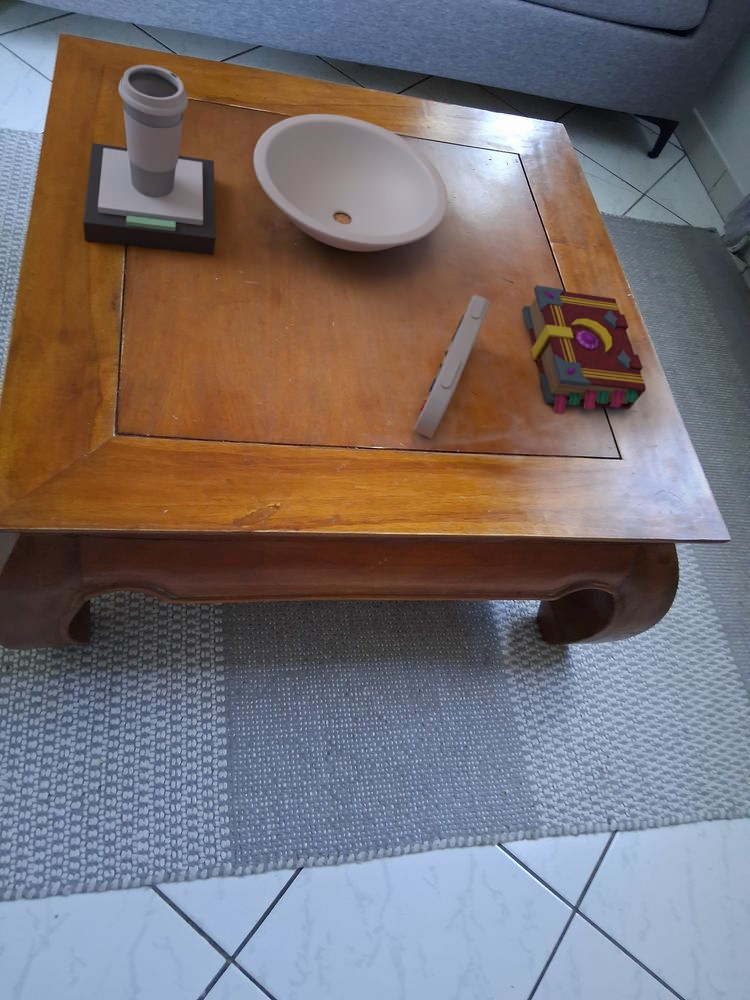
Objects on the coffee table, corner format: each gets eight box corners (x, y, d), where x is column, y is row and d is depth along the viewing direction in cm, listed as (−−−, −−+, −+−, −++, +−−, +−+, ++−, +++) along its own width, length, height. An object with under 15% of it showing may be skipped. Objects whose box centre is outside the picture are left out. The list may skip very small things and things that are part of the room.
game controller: (454, 330, 92) (479, 277, 85) (471, 338, 92) (497, 286, 85) (404, 443, 80) (428, 393, 74) (423, 452, 80) (449, 403, 74)
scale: (213, 255, 88) (216, 232, 85) (84, 240, 84) (82, 216, 81) (212, 178, 95) (214, 154, 92) (93, 161, 91) (91, 136, 89)
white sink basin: (216, 236, 90) (220, 188, 84) (287, 136, 104) (295, 89, 98) (403, 314, 91) (420, 272, 85) (450, 205, 105) (466, 163, 99)
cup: (196, 191, 88) (203, 92, 78) (151, 211, 84) (152, 110, 75) (153, 157, 89) (155, 55, 80) (107, 175, 86) (103, 71, 76)
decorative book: (600, 322, 99) (619, 294, 95) (631, 420, 91) (654, 394, 87) (520, 311, 97) (537, 281, 92) (545, 412, 88) (565, 384, 84)
